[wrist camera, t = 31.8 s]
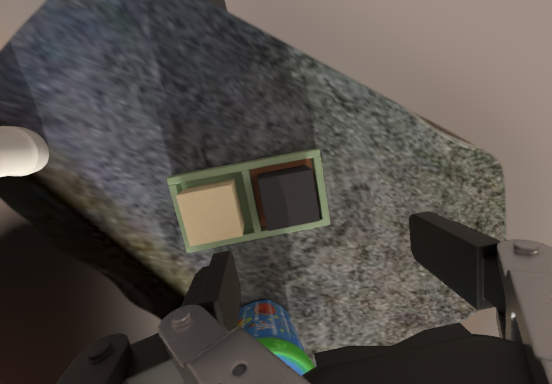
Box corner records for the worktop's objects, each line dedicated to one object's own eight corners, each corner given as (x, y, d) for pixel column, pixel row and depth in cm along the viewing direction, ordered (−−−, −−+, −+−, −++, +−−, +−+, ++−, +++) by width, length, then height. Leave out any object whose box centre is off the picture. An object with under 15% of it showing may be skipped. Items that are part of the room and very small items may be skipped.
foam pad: (186, 187, 30) (175, 195, 26) (234, 178, 30) (231, 184, 26) (198, 232, 31) (189, 246, 27) (244, 223, 31) (242, 236, 28)
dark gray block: (257, 173, 30) (257, 179, 26) (305, 164, 30) (312, 168, 26) (266, 219, 31) (267, 231, 27) (312, 210, 31) (320, 221, 28)
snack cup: (328, 338, 36) (354, 414, 26) (267, 380, 37) (271, 470, 27) (257, 257, 33) (257, 309, 23) (193, 305, 34) (166, 375, 24)
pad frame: (172, 175, 30) (166, 178, 28) (315, 148, 31) (319, 148, 29) (191, 245, 32) (186, 253, 30) (325, 218, 33) (330, 224, 30)
